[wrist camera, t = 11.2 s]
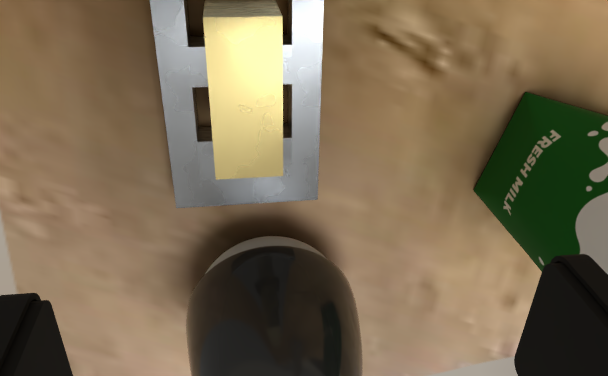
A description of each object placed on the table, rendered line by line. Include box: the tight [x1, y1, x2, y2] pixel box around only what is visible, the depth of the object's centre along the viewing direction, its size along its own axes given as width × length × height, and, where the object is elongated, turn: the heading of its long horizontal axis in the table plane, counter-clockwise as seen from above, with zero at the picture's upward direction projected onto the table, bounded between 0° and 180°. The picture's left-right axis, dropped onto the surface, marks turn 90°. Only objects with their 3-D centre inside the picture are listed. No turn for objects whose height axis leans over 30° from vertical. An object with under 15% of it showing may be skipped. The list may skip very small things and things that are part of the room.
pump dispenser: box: [186, 236, 362, 376], centre depth 29 cm, size 10×10×15 cm
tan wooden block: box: [203, 0, 283, 180], centre depth 25 cm, size 7×3×7 cm, turn 179°
